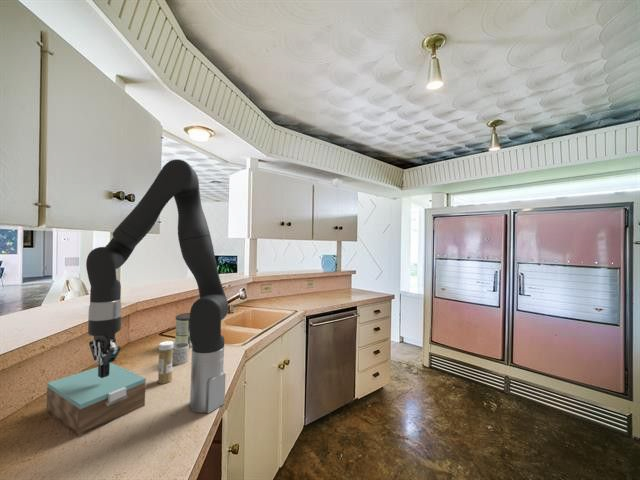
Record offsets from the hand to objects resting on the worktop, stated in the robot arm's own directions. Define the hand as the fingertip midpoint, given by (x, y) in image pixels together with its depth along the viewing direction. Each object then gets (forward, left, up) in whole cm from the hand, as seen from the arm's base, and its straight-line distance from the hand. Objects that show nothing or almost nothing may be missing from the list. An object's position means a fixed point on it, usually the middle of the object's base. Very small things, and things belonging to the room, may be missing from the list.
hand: (103, 376), depth 80 cm
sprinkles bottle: (+2, -20, -10) cm, 23 cm away
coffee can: (+26, -46, -11) cm, 54 cm away
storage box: (+3, 0, -10) cm, 11 cm away
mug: (+12, -31, -11) cm, 35 cm away
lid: (+3, 0, -4) cm, 5 cm away
